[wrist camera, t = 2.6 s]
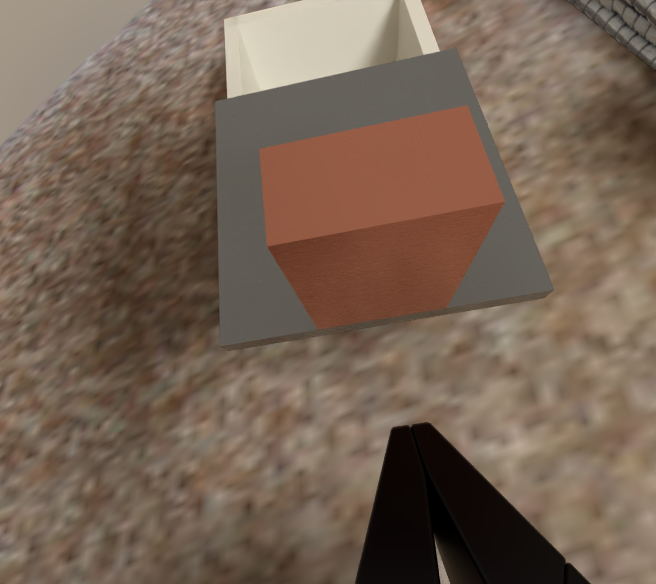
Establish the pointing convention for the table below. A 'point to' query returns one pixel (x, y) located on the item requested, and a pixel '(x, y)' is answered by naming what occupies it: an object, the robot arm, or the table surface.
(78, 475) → the table surface
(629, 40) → the towel
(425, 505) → the robot arm
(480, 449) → the table surface
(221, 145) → the lid
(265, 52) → the cream open box
